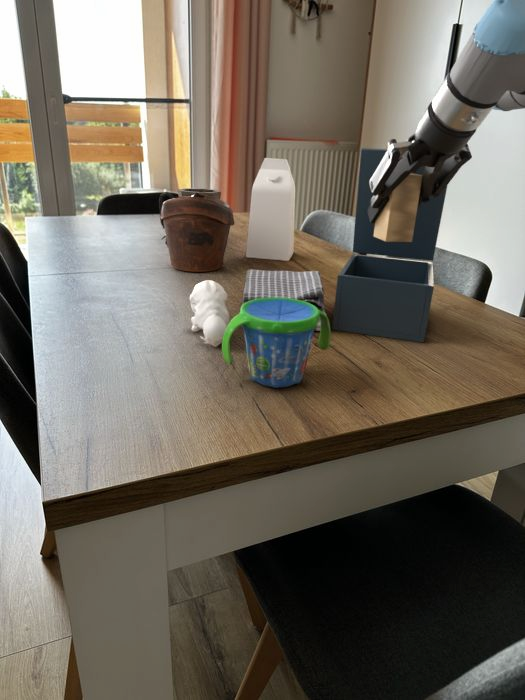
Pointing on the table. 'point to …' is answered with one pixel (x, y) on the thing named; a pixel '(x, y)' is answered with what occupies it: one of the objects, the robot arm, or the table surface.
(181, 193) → the mug
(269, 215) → the milk
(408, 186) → the beech block
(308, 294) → the towel
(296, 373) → the snack cup
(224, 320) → the white animal figurine
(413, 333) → the chest
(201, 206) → the brown pot
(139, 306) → the table surface
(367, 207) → the chest lid
